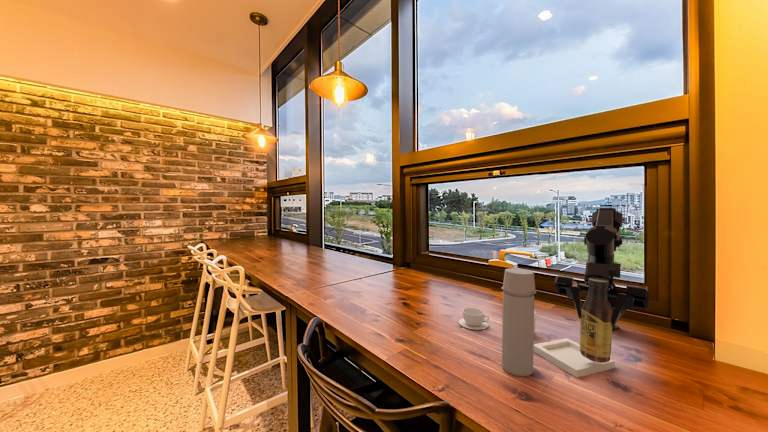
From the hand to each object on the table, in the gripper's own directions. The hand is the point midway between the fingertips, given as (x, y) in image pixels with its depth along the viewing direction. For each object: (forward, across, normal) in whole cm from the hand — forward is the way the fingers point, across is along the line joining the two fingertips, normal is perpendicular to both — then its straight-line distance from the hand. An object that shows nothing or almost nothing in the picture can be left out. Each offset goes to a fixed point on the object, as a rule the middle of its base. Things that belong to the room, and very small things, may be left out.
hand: (595, 321), depth 67 cm
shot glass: (0, -19, +20) cm, 27 cm away
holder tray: (+6, -5, +12) cm, 15 cm away
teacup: (+4, -34, +16) cm, 38 cm away
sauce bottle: (+6, 0, +8) cm, 10 cm away
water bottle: (+16, -15, +2) cm, 22 cm away
